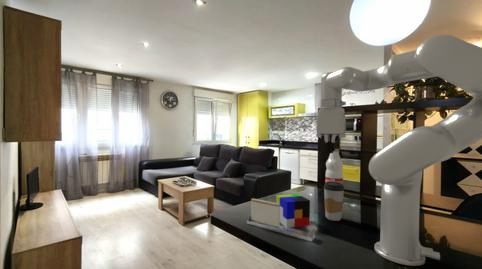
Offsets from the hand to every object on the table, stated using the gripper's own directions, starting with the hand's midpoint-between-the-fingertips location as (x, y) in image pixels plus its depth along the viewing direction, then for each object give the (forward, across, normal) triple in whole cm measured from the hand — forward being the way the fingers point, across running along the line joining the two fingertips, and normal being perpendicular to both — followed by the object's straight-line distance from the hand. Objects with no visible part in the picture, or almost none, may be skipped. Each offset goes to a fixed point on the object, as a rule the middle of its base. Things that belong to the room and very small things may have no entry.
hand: (330, 152), depth 88 cm
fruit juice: (+29, +8, -46) cm, 55 cm away
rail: (+29, +15, +14) cm, 35 cm away
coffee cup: (+29, +1, -12) cm, 32 cm away
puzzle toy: (+29, +14, +2) cm, 33 cm away
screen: (+28, +21, +13) cm, 37 cm away
